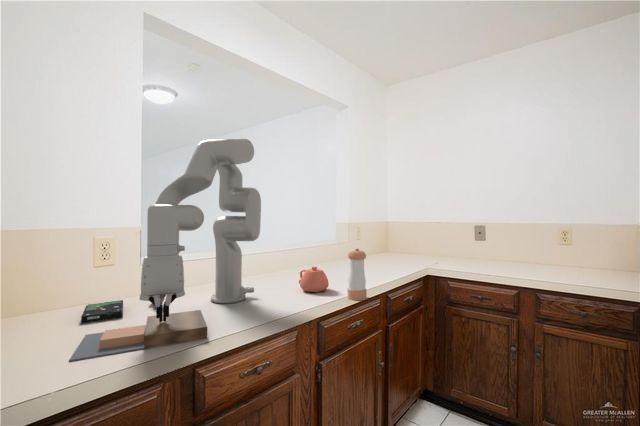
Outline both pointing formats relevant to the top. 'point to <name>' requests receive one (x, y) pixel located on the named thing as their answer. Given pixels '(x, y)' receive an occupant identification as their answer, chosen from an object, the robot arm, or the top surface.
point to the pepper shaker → (357, 276)
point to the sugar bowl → (313, 280)
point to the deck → (175, 329)
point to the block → (122, 336)
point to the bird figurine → (160, 300)
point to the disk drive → (102, 311)
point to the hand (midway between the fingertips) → (162, 320)
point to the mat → (91, 349)
